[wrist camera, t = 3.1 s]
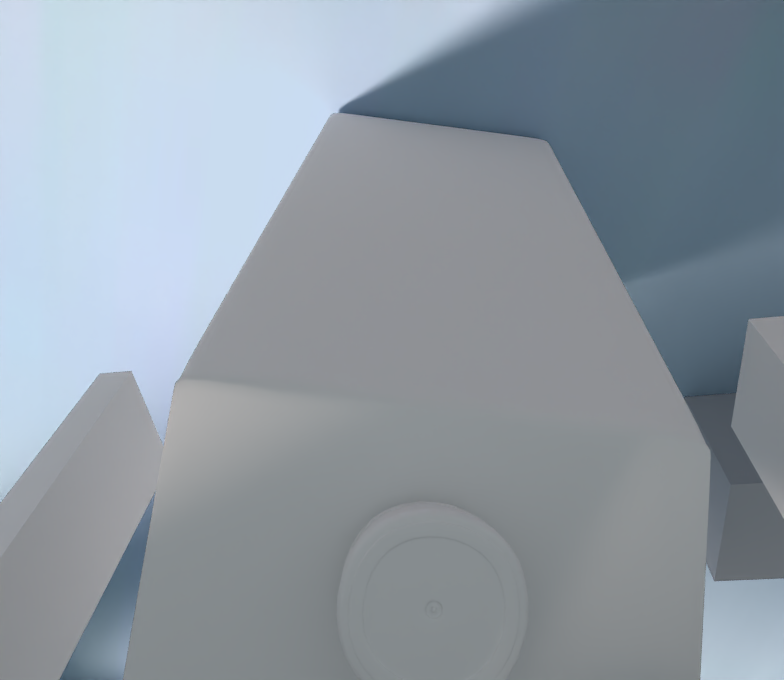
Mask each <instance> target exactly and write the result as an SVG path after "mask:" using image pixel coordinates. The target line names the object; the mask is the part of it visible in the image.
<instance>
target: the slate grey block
mask: <svg viewBox="0 0 784 680" xmlns="http://www.w3.org/2000/svg"><path fill="white" fill-rule="evenodd" d="M735 398H736V393H730V394H717V395H704V396H691V397H684V400H685V402H686V404H687V406H688V408H689V409H690V411H691V413H692V415H693V417H694V419H695V421H696V423H697V425H698V427H699V429H700V432H701V434H702V436H703V438H704V441H705V443H706V445H707V446H708V448H709V450H710V452H711V460H710V488H709V509H708V530H707V550H706V563H707V565H708V568H709V570H710V572H711V575H712V577H713V579H714V581H729V580H753V579H776V578H784V518H783V517H782V515H781V513H780V511H779V510H778V508H777V506H776V504H775V503H774V501H773V499H772V497H771V496H770V494H769V492H768V490H767V489H766V487H765V485H764V483H763V482H762V480H761V478H760V476H759V475H758V473H757V471H756V469H755V467H754V466H753V464H752V462H751V460H750V459H749V457H748V455H747V453H746V452H745V450H744V448H743V446H742V445H741V443H740V441H739V439H738V438H737V436H736V434H735V432H734V431H733V429H732V427H731V423H732V417H733V411H734V404H735Z"/></svg>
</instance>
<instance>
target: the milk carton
mask: <svg viewBox="0 0 784 680" xmlns="http://www.w3.org/2000/svg"><path fill="white" fill-rule="evenodd" d="M710 460H711V452H710V450H709V448H708V446H707V445H706V443H705V441H704V438H703V436H702V434H701V432H700V429H699V427H698V425H697V423H696V421H695V419H694V417H693V415H692V413H691V411H690V409H689V408H688V406H687V404H686V402H685V400H684V398H683V396H682V394H681V392H680V390H679V388H678V386H677V385H676V383H675V381H674V379H673V377H672V375H671V373H670V371H669V369H668V368H667V366H666V364H665V362H664V360H663V358H662V356H661V354H660V352H659V351H658V349H657V347H656V345H655V343H654V341H653V339H652V337H651V335H650V334H649V332H648V330H647V328H646V326H645V324H644V322H643V320H642V318H641V317H640V315H639V313H638V311H637V309H636V307H635V305H634V303H633V301H632V299H631V298H630V296H629V294H628V292H627V290H626V288H625V286H624V284H623V282H622V281H621V279H620V277H619V275H618V273H617V271H616V269H615V267H614V265H613V264H612V262H611V260H610V258H609V256H608V254H607V252H606V250H605V248H604V247H603V245H602V243H601V241H600V239H599V237H598V235H597V233H596V231H595V230H594V228H593V226H592V224H591V222H590V220H589V218H588V216H587V214H586V213H585V211H584V209H583V207H582V205H581V203H580V201H579V199H578V197H577V196H576V194H575V192H574V190H573V188H572V186H571V184H570V182H569V180H568V179H567V177H566V175H565V173H564V171H563V169H562V167H561V165H560V163H559V162H558V160H557V158H556V156H555V154H554V152H553V150H552V148H551V146H550V145H549V143H548V142H547V141H545V140H541V139H536V138H530V137H523V136H515V135H508V134H500V133H492V132H485V131H477V130H469V129H462V128H454V127H447V126H439V125H431V124H424V123H416V122H408V121H401V120H393V119H385V118H378V117H370V116H362V115H354V114H345V113H333V114H332V115H330V117H329V118H328V120H327V122H326V124H325V125H324V127H323V129H322V130H321V132H320V134H319V136H318V137H317V139H316V141H315V143H314V144H313V146H312V148H311V149H310V151H309V153H308V155H307V156H306V158H305V160H304V162H303V163H302V165H301V167H300V168H299V170H298V172H297V174H296V175H295V177H294V179H293V181H292V182H291V184H290V186H289V187H288V189H287V191H286V193H285V194H284V196H283V198H282V200H281V201H280V203H279V205H278V206H277V208H276V210H275V212H274V213H273V215H272V217H271V219H270V220H269V222H268V224H267V225H266V227H265V229H264V231H263V232H262V234H261V236H260V237H259V239H258V241H257V243H256V244H255V246H254V248H253V250H252V251H251V253H250V255H249V256H248V258H247V260H246V262H245V263H244V265H243V267H242V269H241V270H240V272H239V274H238V275H237V277H236V279H235V281H234V282H233V284H232V286H231V288H230V289H229V291H228V293H227V294H226V296H225V298H224V300H223V301H222V303H221V305H220V307H219V308H218V310H217V312H216V313H215V315H214V317H213V319H212V320H211V322H210V324H209V326H208V327H207V329H206V331H205V333H204V334H203V336H202V338H201V340H200V341H199V343H198V345H197V347H196V348H195V350H194V352H193V354H192V356H191V358H190V359H189V361H188V363H187V365H186V367H185V369H184V371H183V373H182V375H181V377H180V379H179V380H178V381H177V382H176V383H175V386H174V391H173V396H172V402H171V407H170V413H169V418H168V424H167V430H166V435H165V441H164V447H163V453H162V458H161V464H160V470H159V476H158V481H157V487H156V493H155V498H154V504H153V510H152V516H151V521H150V527H149V533H148V539H147V544H146V550H145V556H144V561H143V567H142V573H141V579H140V584H139V590H138V596H137V602H136V607H135V613H134V619H133V624H132V630H131V636H130V642H129V647H128V653H127V659H126V664H125V670H124V676H123V680H700V672H701V652H702V632H703V611H704V591H705V570H706V550H707V530H708V509H709V488H710Z"/></svg>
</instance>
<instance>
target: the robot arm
mask: <svg viewBox="0 0 784 680" xmlns="http://www.w3.org/2000/svg"><path fill="white" fill-rule="evenodd" d="M731 427H732V429H733V431H734V432H735V434H736V436H737V438H738V439H739V441H740V443H741V445H742V446H743V448H744V450H745V452H746V453H747V455H748V457H749V459H750V460H751V462H752V464H753V466H754V467H755V469H756V471H757V473H758V475H759V476H760V478H761V480H762V482H763V483H764V485H765V487H766V489H767V490H768V492H769V494H770V496H771V497H772V499H773V501H774V503H775V504H776V506H777V508H778V510H779V511H780V513H781V515H782V517H783V518H784V316H779V317H767V318H755V319H748V325H747V331H746V337H745V343H744V349H743V356H742V362H741V368H740V374H739V380H738V386H737V392H736V398H735V404H734V411H733V417H732V423H731ZM163 447H164V446H163V444H162V442H161V439H160V437H159V435H158V432H157V430H156V428H155V425H154V423H153V421H152V418H151V416H150V414H149V411H148V409H147V407H146V404H145V402H144V400H143V397H142V395H141V393H140V390H139V388H138V385H137V383H136V381H135V378H134V376H133V374H132V371H125V372H113V373H101V374H99V375H98V377H97V378H96V379H95V380H94V382H93V383H92V384H91V386H90V387H89V388H88V390H87V391H86V392H85V394H84V395H83V396H82V397H81V399H80V400H79V401H78V403H77V404H76V405H75V407H74V408H73V409H72V410H71V412H70V413H69V414H68V416H67V417H66V418H65V420H64V421H63V422H62V423H61V425H60V426H59V427H58V429H57V430H56V431H55V433H54V434H53V435H52V437H51V438H50V439H49V440H48V442H47V443H46V444H45V446H44V447H43V448H42V450H41V451H40V452H39V453H38V455H37V456H36V457H35V459H34V460H33V461H32V463H31V464H30V465H29V467H28V468H27V469H26V470H25V472H24V473H23V474H22V476H21V477H20V478H19V480H18V481H17V482H16V483H15V485H14V486H13V487H12V489H11V490H10V491H9V493H8V494H7V495H6V496H5V498H4V499H3V500H2V502H1V503H0V680H59V679H60V677H61V675H62V673H63V672H64V670H65V668H66V666H67V664H68V662H69V660H70V658H71V656H72V654H73V652H74V650H75V648H76V646H77V644H78V642H79V640H80V638H81V636H82V634H83V632H84V630H85V628H86V626H87V624H88V622H89V621H90V619H91V617H92V615H93V613H94V611H95V609H96V607H97V605H98V603H99V601H100V599H101V597H102V595H103V593H104V591H105V589H106V587H107V585H108V583H109V581H110V579H111V577H112V575H113V573H114V571H115V570H116V568H117V566H118V564H119V562H120V560H121V558H122V556H123V554H124V552H125V550H126V548H127V546H128V544H129V542H130V540H131V538H132V536H133V534H134V532H135V530H136V528H137V526H138V524H139V522H140V520H141V518H142V517H143V515H144V513H145V511H146V509H147V507H148V505H149V503H150V501H151V499H152V497H153V495H154V493H155V491H156V487H157V481H158V476H159V470H160V464H161V458H162V453H163Z"/></svg>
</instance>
